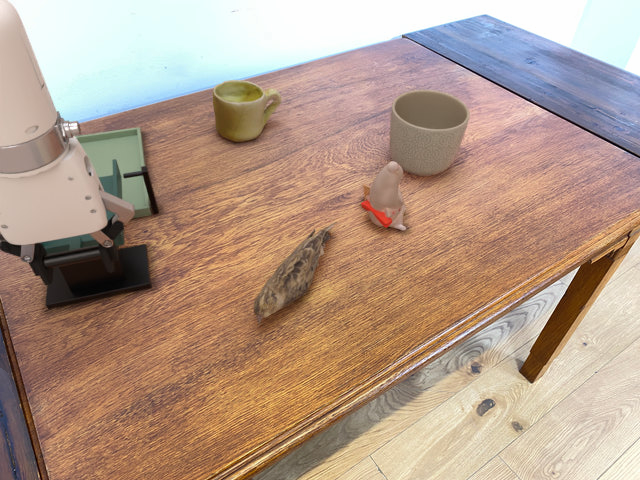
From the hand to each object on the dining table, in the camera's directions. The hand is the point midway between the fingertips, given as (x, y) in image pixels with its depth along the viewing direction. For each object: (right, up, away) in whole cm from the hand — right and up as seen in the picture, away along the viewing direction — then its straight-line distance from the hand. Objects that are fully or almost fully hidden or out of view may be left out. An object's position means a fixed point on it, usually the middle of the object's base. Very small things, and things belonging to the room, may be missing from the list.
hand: (80, 268), depth 60 cm
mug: (+15, +24, +37) cm, 46 cm away
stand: (-3, +1, +13) cm, 14 cm away
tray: (-9, +13, +25) cm, 30 cm away
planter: (+45, +17, +30) cm, 57 cm away
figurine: (+38, +7, +20) cm, 43 cm away
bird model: (+25, -2, +11) cm, 28 cm away
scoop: (-2, +5, +6) cm, 8 cm away
